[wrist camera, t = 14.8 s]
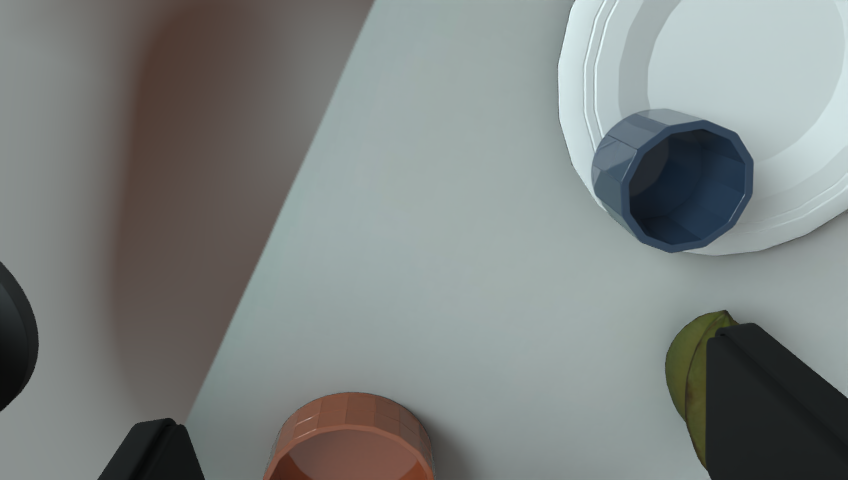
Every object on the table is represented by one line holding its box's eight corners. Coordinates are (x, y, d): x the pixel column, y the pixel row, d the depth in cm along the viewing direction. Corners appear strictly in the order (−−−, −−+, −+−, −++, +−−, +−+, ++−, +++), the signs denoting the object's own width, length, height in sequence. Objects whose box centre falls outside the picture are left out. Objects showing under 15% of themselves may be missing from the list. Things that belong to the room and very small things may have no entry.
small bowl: (594, 230, 40) (623, 261, 34) (587, 119, 37) (618, 134, 32) (704, 212, 39) (751, 240, 34) (705, 99, 37) (756, 111, 32)
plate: (476, 133, 39) (480, 138, 37) (724, -254, 32) (743, -271, 30) (749, 304, 44) (764, 316, 42) (1010, 3, 37) (1041, 1, 36)
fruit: (605, 406, 47) (637, 463, 41) (687, 281, 43) (736, 323, 37) (721, 451, 49) (768, 512, 43) (808, 335, 45) (873, 383, 39)
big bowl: (293, 532, 50) (285, 573, 46) (254, 406, 45) (241, 440, 41) (443, 508, 50) (447, 547, 46) (418, 379, 45) (421, 411, 41)
